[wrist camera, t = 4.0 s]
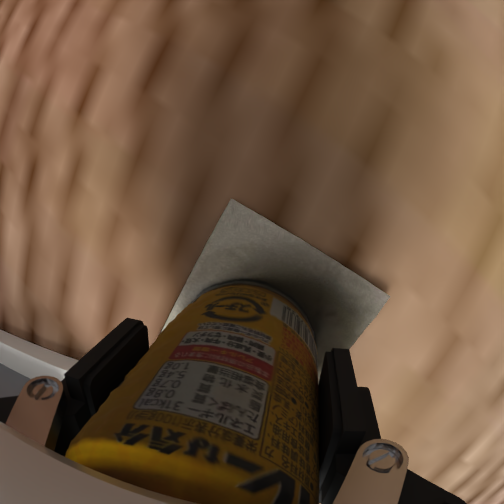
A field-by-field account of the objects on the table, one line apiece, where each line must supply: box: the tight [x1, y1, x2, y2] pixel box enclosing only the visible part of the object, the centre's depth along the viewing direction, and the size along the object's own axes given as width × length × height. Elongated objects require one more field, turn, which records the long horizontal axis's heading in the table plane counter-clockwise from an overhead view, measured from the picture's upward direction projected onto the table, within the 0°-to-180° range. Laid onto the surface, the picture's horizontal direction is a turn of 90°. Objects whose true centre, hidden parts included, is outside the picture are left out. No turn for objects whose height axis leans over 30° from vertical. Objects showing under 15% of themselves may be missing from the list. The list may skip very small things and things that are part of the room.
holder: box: [0, 329, 79, 398], centre depth 17 cm, size 18×18×4 cm
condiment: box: [65, 198, 390, 504], centre depth 8 cm, size 7×8×12 cm
